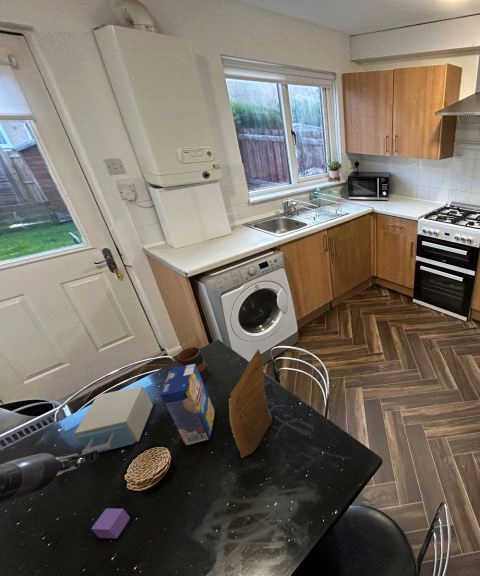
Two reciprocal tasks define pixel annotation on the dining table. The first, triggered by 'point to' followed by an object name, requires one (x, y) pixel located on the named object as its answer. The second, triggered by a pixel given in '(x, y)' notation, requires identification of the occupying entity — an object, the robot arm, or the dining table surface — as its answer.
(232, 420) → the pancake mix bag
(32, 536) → the dining table surface
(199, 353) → the mug
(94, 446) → the drawer
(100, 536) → the block
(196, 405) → the blue cereal box
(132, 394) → the cabinet
